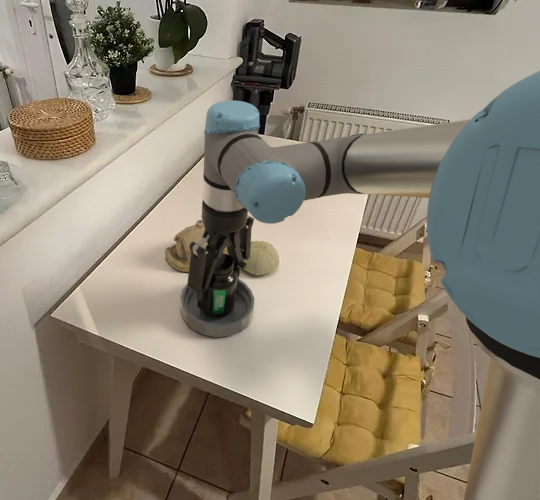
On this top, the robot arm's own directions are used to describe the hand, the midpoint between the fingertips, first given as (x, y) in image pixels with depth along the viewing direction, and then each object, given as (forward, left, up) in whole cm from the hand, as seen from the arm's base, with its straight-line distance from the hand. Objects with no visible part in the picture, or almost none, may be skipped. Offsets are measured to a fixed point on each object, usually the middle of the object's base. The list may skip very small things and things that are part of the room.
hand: (217, 299), depth 84 cm
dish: (0, 0, -3) cm, 3 cm away
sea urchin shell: (+8, -15, -3) cm, 17 cm away
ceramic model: (+16, -4, -3) cm, 17 cm away
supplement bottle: (0, 0, -2) cm, 2 cm away
